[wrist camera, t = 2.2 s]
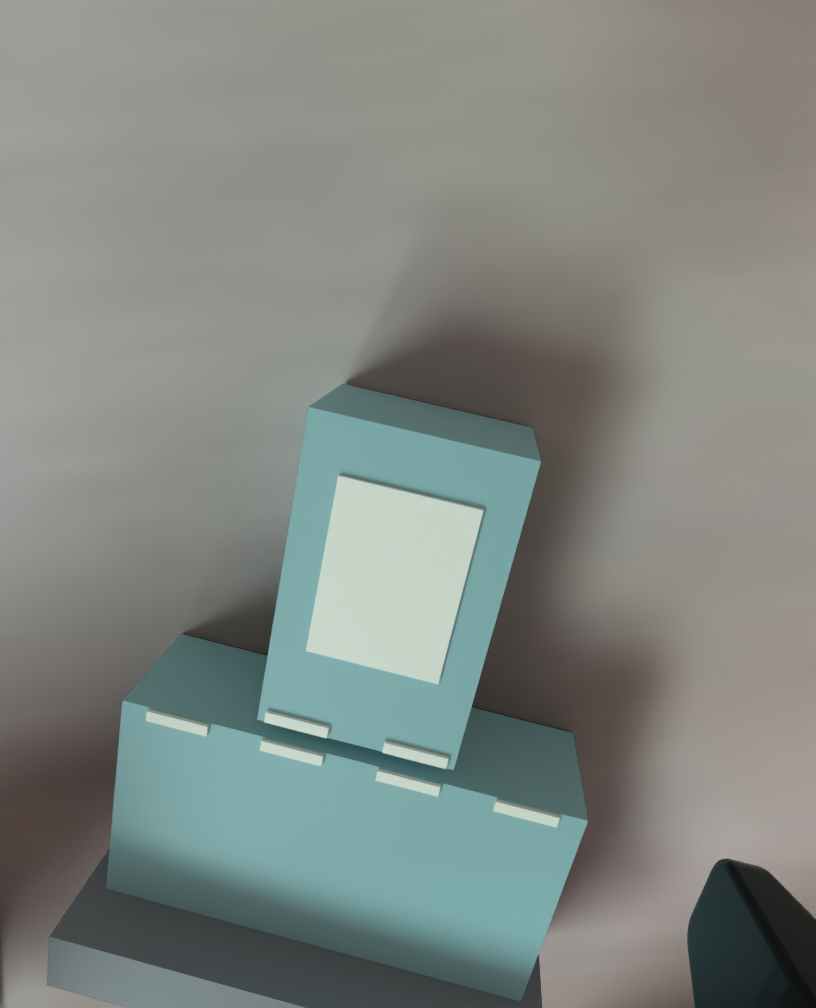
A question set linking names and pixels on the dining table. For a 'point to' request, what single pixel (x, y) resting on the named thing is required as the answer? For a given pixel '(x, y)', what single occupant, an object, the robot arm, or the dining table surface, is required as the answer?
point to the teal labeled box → (394, 571)
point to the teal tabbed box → (316, 858)
